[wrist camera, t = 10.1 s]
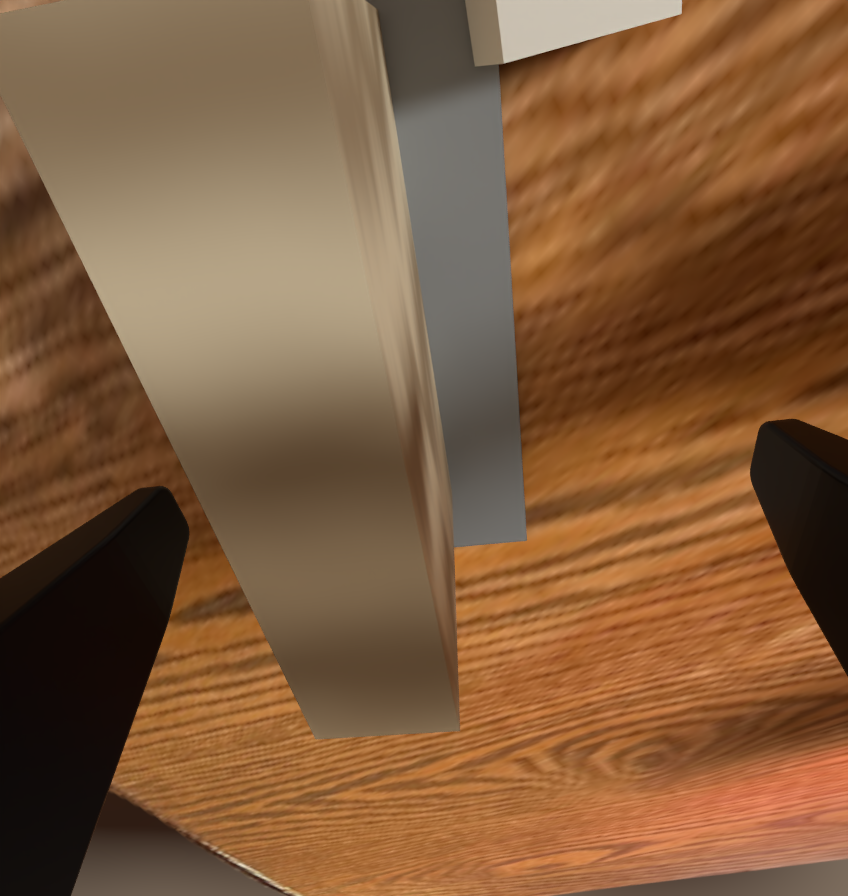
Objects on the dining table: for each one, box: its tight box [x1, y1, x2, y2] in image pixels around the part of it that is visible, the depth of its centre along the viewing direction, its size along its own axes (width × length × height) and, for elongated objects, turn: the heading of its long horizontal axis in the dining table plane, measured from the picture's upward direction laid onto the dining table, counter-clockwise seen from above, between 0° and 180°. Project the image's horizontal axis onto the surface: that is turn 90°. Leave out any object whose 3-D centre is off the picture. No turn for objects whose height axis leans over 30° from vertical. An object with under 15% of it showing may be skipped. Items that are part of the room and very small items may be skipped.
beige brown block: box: [0, 0, 460, 739], centre depth 15 cm, size 16×4×10 cm, turn 8°
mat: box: [365, 0, 527, 547], centre depth 19 cm, size 22×10×1 cm, turn 8°
